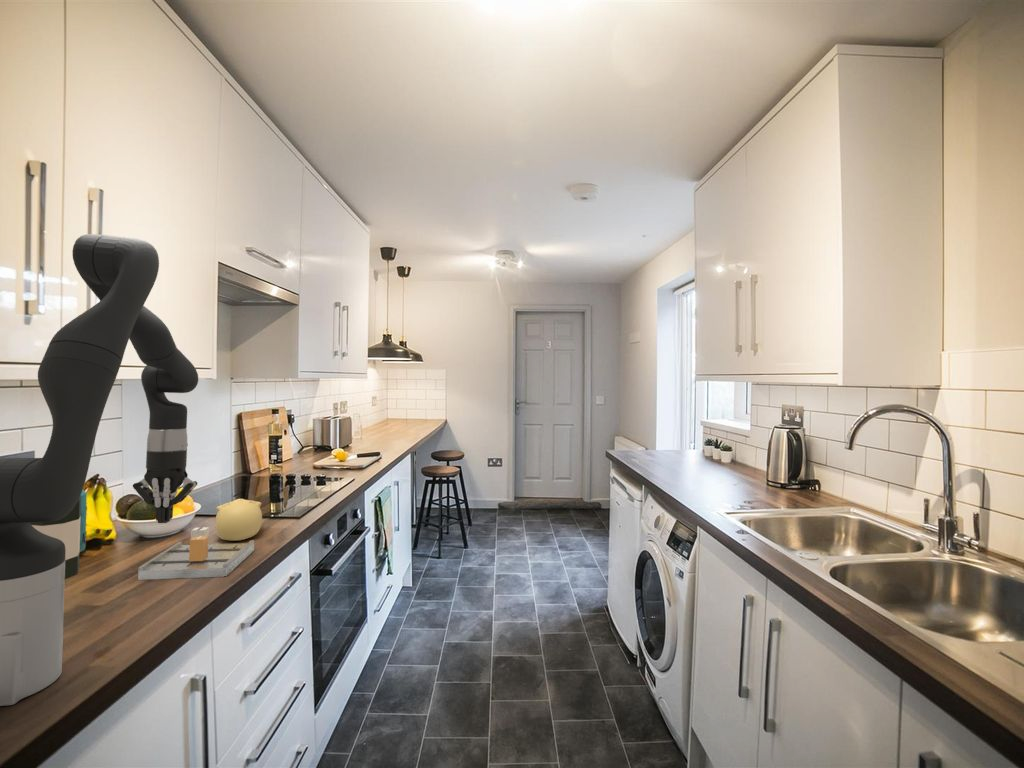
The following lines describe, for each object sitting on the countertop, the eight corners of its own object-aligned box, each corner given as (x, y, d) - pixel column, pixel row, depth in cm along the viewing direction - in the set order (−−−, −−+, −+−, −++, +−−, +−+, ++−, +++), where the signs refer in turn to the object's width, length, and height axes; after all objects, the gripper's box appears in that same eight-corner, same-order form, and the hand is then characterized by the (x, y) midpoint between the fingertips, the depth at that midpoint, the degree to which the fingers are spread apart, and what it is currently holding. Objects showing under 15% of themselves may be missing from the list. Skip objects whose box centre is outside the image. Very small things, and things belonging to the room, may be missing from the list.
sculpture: (260, 528, 137) (261, 493, 137) (263, 540, 127) (264, 502, 127) (215, 534, 131) (216, 497, 131) (214, 547, 121) (215, 507, 121)
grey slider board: (226, 576, 104) (226, 564, 104) (138, 579, 101) (138, 567, 101) (253, 550, 119) (254, 540, 119) (178, 552, 116) (178, 542, 116)
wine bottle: (16, 585, 96) (20, 445, 96) (44, 569, 104) (48, 439, 104) (64, 582, 98) (69, 444, 98) (88, 566, 106) (92, 439, 106)
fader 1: (203, 550, 112) (204, 529, 112) (190, 550, 112) (191, 529, 112) (208, 546, 114) (208, 526, 114) (195, 547, 114) (195, 526, 114)
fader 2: (203, 560, 106) (203, 538, 106) (189, 561, 105) (189, 539, 105) (207, 557, 108) (208, 535, 108) (194, 557, 108) (194, 535, 107)
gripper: (124, 449, 101) (120, 527, 100) (189, 450, 103) (186, 526, 103) (145, 445, 108) (142, 518, 108) (206, 446, 110) (203, 517, 110)
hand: (164, 522), depth 105 cm, fingers closed
